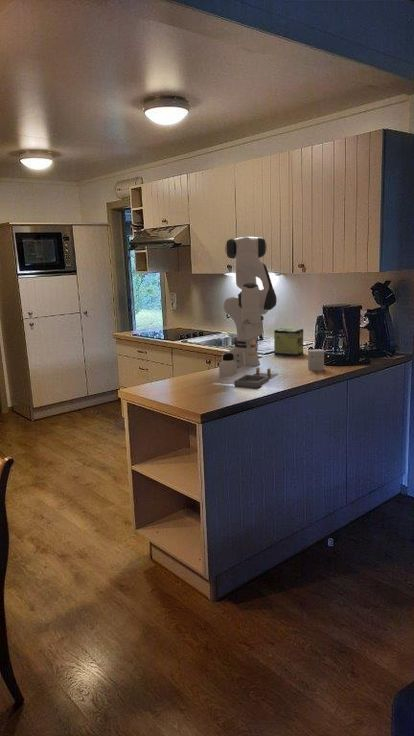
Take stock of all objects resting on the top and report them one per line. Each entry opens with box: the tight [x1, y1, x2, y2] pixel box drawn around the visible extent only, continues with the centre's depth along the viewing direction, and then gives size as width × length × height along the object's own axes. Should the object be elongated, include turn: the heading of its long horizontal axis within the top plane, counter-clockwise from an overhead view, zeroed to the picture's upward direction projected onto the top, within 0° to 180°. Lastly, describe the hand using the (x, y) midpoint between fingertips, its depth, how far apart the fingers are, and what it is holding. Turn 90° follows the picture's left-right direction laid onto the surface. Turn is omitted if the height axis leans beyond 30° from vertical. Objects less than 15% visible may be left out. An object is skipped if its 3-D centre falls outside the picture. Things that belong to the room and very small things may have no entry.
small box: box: [307, 348, 325, 371], centre depth 280 cm, size 8×6×10 cm
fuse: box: [247, 336, 256, 356], centre depth 249 cm, size 4×4×9 cm
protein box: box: [273, 327, 304, 357], centre depth 324 cm, size 10×16×16 cm
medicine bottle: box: [218, 352, 238, 378], centre depth 272 cm, size 7×7×12 cm
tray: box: [234, 374, 269, 390], centre depth 253 cm, size 12×14×3 cm
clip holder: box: [253, 367, 279, 380], centre depth 265 cm, size 12×12×5 cm
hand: (251, 347), depth 249 cm, fingers closed on fuse, 4 cm apart
